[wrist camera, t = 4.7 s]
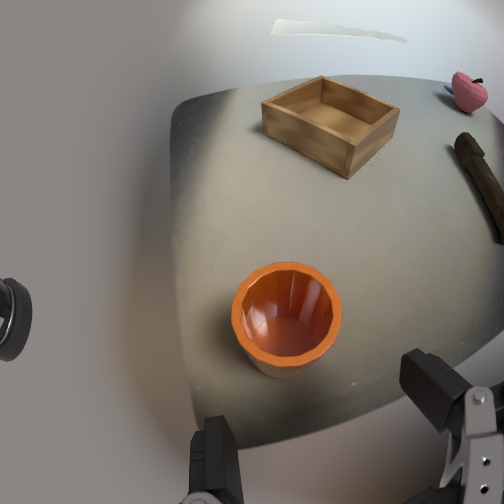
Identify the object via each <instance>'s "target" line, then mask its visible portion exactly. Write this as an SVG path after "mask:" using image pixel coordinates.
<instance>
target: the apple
mask: <svg viewBox="0 0 504 504" xmlns="http://www.w3.org/2000/svg"><path fill="white" fill-rule="evenodd" d="M478 83H483V80H482V79H481V78H480V79H476V80H473V79H471V78H470V77H469V76H467V75H465V74H464V73H461V72H457V73H456V74H454V75H453V78H452V89H453V94H454V98H455V104H456V105H457V106H458V107H459V108H460V109H461V110H463V111H464V112H468V113H472V112H473V111H475V110H476V109H478V108H480V107H481V106H483V105H484V104H485V102H486V101H487V98H488V96H487V91H486V89H485V88H484V87H482V86H481V85H480V84H478Z"/></svg>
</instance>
